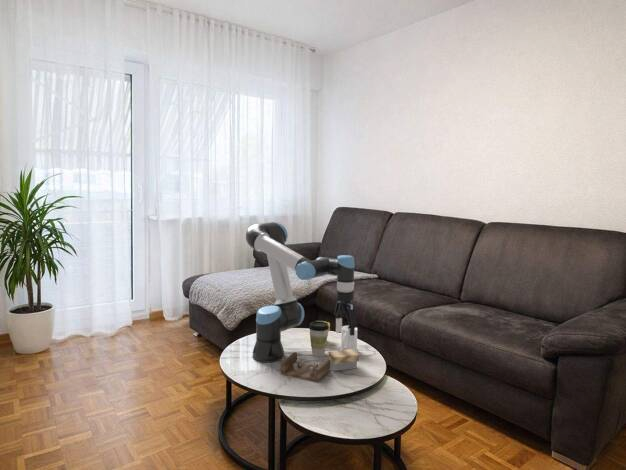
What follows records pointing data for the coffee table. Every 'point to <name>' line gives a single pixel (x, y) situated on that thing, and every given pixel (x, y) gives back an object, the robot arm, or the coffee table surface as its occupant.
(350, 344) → the mug
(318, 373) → the cradle
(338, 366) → the wedge
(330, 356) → the board
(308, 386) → the coffee table surface
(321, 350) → the coffee cup
